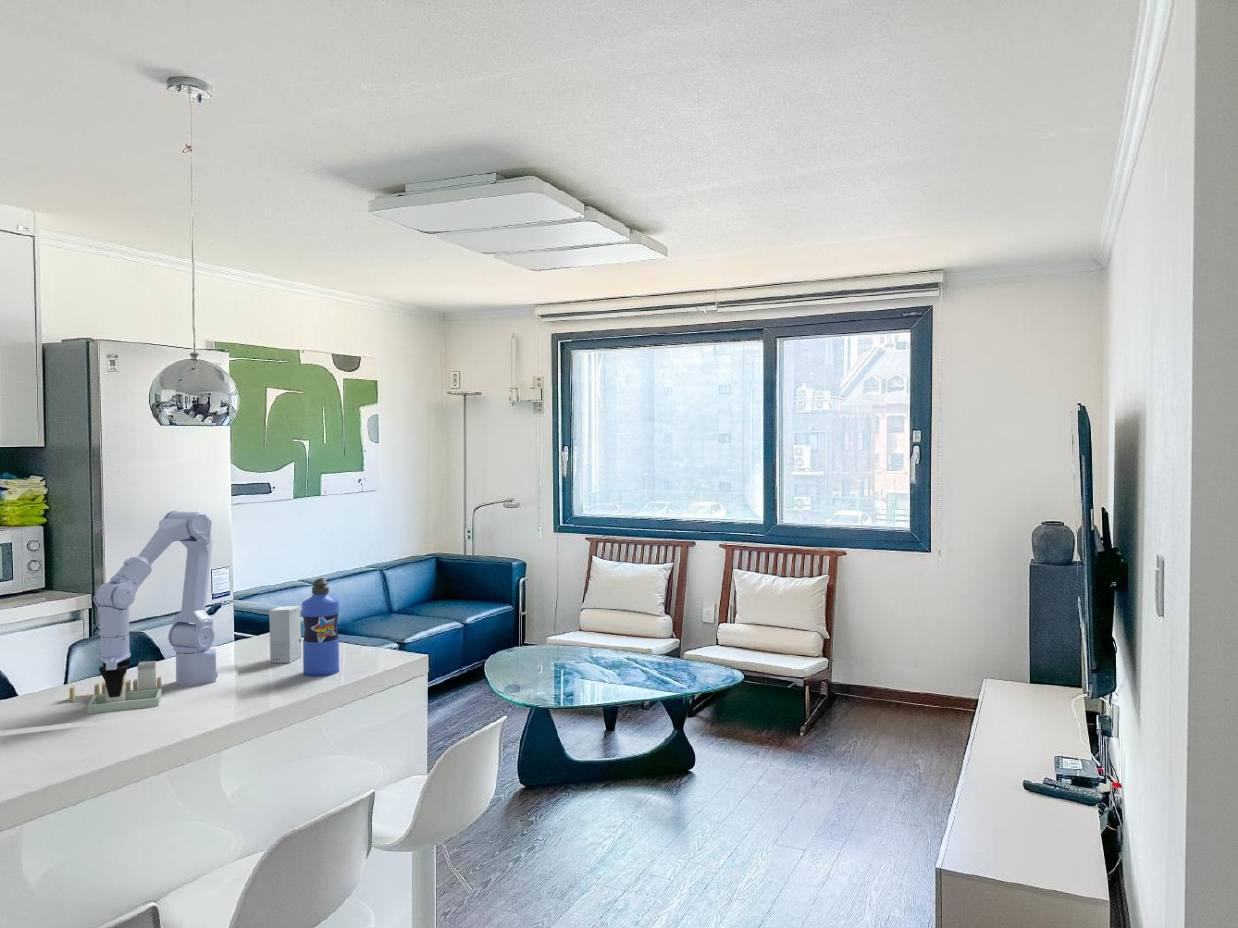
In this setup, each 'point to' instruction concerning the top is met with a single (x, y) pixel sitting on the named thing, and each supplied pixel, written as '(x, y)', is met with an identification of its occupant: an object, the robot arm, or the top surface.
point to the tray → (126, 704)
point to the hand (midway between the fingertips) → (115, 694)
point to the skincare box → (285, 634)
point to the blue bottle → (320, 632)
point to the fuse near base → (147, 675)
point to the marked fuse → (116, 699)
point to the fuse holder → (97, 691)
